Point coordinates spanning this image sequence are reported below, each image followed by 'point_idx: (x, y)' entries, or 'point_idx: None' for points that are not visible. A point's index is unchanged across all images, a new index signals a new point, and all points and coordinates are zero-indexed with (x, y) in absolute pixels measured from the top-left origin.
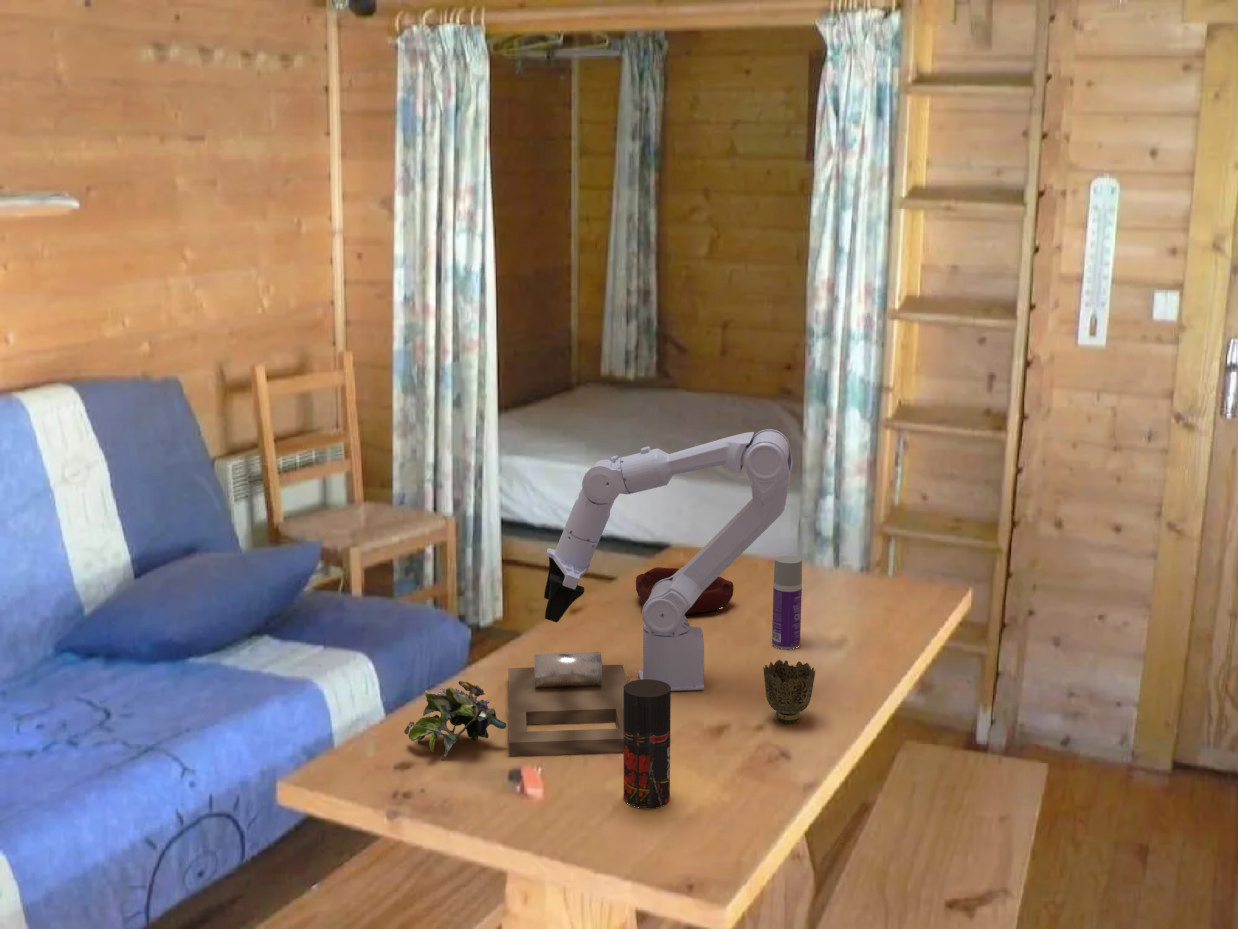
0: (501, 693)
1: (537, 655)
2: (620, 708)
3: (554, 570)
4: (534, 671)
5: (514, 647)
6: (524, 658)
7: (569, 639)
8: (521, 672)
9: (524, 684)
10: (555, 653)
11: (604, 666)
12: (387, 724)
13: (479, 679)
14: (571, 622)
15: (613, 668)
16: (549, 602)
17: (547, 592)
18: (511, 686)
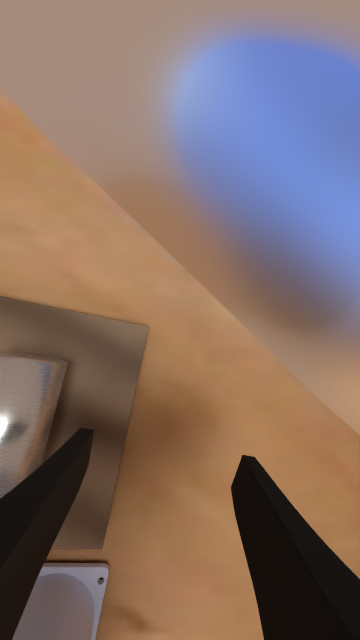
0: (96, 306)
1: (1, 366)
2: None
3: (315, 622)
4: (58, 360)
5: (275, 363)
6: (230, 370)
7: (290, 455)
8: (121, 344)
9: (59, 338)
10: (3, 416)
11: (103, 508)
12: (28, 125)
13: (164, 287)
14: (355, 469)
15: (86, 526)
16: (19, 484)
17: (250, 479)
18: (58, 313)
